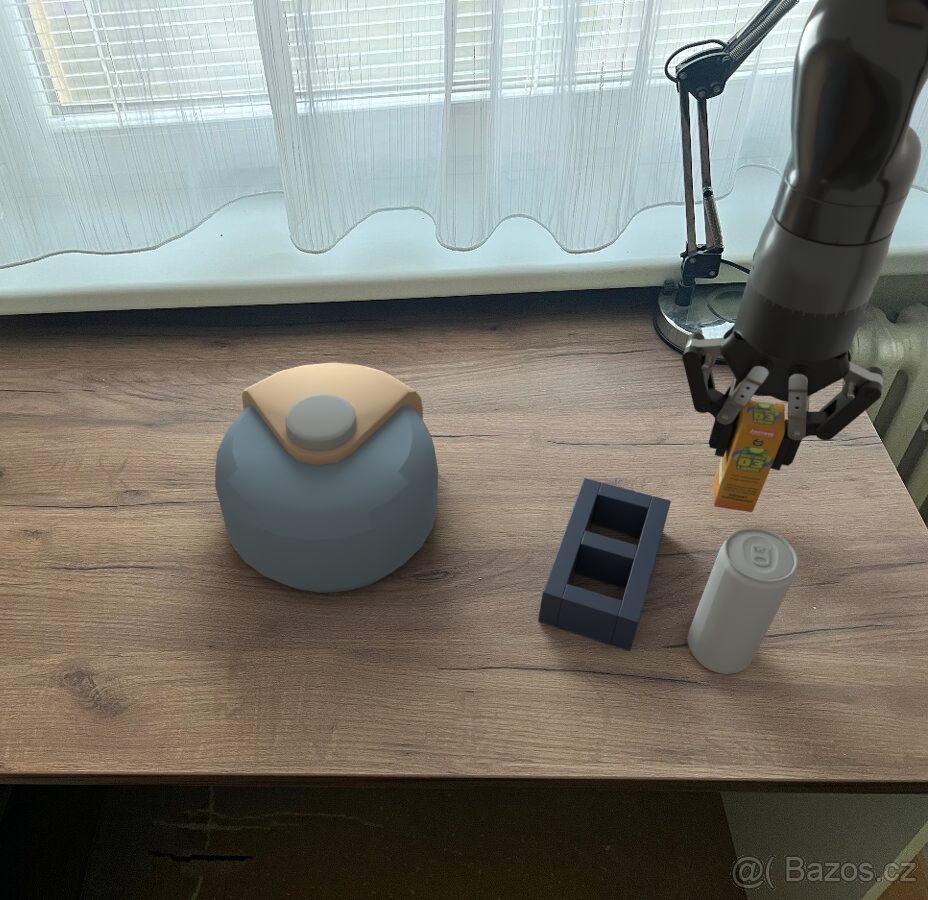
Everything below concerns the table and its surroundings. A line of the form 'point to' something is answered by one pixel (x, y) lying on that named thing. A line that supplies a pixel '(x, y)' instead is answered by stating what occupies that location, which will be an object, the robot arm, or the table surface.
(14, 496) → the table surface
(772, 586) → the beverage can
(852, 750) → the table surface
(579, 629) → the holder
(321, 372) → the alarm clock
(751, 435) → the supplement box
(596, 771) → the table surface
